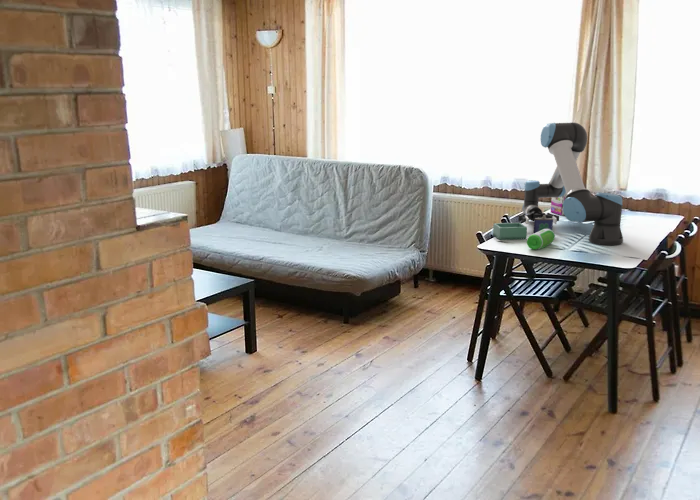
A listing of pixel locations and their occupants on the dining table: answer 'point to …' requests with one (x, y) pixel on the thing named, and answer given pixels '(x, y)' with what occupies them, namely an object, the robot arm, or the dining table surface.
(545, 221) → the flask
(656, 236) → the dining table surface
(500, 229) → the open box
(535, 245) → the speaker
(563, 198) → the candy bar box
